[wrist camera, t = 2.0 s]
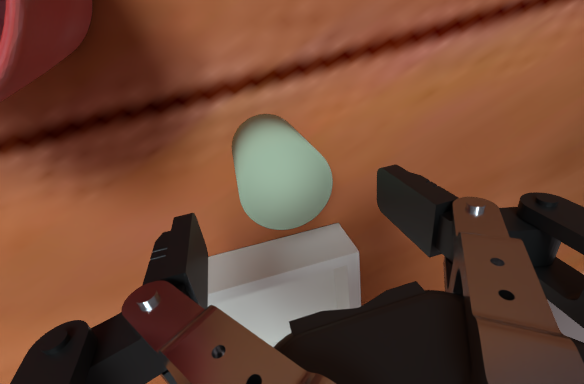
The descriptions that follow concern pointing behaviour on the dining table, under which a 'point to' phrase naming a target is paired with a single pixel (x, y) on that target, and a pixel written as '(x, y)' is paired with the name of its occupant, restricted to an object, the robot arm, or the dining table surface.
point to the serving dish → (286, 280)
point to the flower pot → (38, 38)
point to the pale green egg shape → (279, 173)
